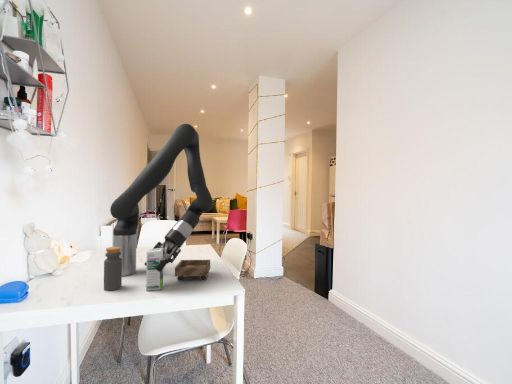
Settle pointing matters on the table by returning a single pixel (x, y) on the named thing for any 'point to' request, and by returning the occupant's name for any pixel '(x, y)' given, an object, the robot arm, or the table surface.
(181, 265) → the wooden toy cart
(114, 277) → the bottle
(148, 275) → the syrup box
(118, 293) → the table surface
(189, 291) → the table surface
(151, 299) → the table surface
